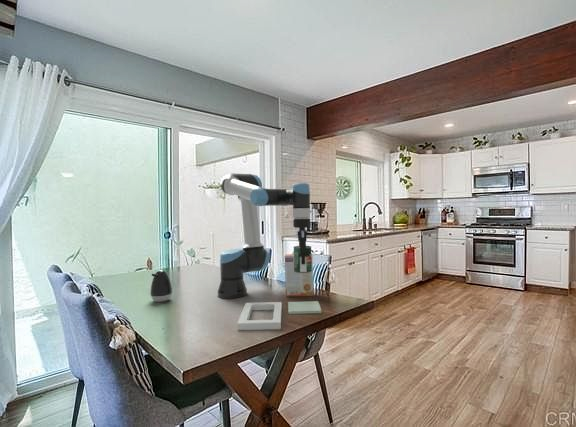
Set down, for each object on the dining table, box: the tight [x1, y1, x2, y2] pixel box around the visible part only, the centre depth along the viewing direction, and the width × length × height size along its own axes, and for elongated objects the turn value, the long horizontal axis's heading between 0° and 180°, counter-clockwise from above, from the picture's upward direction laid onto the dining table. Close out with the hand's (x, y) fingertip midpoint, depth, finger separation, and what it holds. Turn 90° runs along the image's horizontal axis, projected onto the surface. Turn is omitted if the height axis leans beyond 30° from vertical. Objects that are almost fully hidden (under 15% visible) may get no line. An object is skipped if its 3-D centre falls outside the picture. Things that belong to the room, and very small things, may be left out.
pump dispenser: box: [149, 269, 173, 303], centre depth 160 cm, size 10×10×15 cm
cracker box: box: [284, 253, 314, 297], centre depth 164 cm, size 14×6×21 cm, turn 84°
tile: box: [287, 300, 323, 315], centre depth 143 cm, size 14×14×1 cm
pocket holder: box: [236, 301, 283, 331], centre depth 131 cm, size 16×26×2 cm, turn 0°
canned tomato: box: [293, 245, 313, 273], centre depth 142 cm, size 8×8×11 cm
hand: (302, 269), depth 142 cm, fingers closed on canned tomato, 8 cm apart
